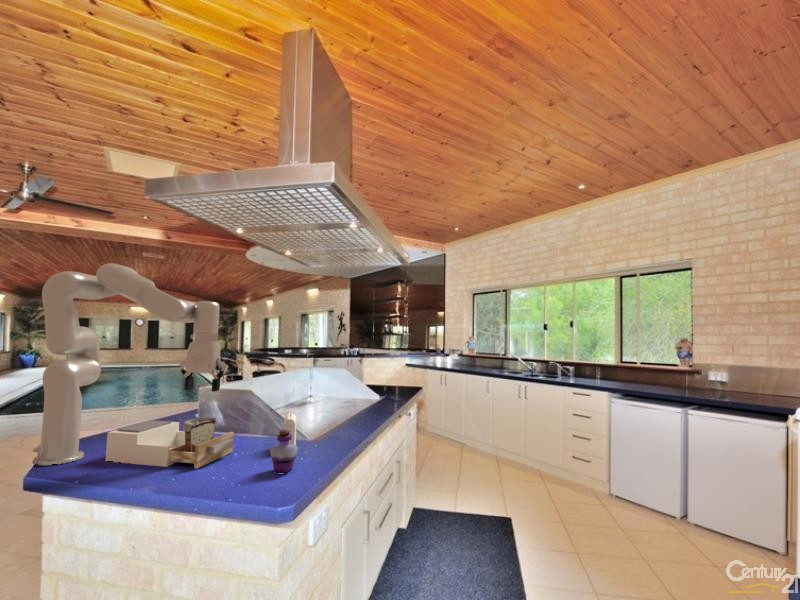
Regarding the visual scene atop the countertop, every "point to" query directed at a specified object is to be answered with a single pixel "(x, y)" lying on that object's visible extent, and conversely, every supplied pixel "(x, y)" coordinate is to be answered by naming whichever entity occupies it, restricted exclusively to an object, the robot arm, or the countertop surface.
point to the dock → (144, 443)
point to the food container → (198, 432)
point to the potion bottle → (283, 453)
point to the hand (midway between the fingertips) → (202, 390)
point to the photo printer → (291, 426)
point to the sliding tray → (204, 451)
